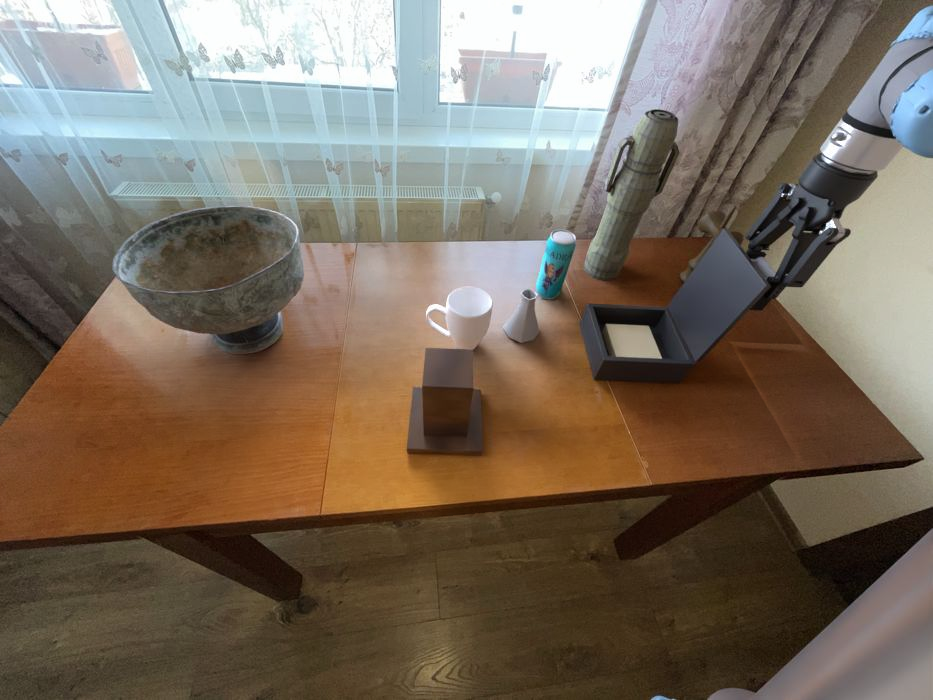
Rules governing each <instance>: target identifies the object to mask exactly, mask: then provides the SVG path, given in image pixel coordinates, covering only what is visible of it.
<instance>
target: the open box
mask: <svg viewBox="0 0 933 700" xmlns="http://www.w3.org/2000/svg"><path fill="white" fill-rule="evenodd" d="M578 324H579V325H578V326H579V328H580V332H581V336H582V340H583V345H584V347H585V352H586V356H587V359H588V363H589V367H590V371H591V375H592V378H593V381H606V382H607V381H609V382H610V381H612V382H632V383H633V382H634V383H659V384H681V383H682V382H683V381H684V379H685V378H686V377H687V376H688V375H689V374H690V372H691V371H692V370H693V368H694V367H695V366H696V364H697V362H695V361H694V358H693V356H692V354H691V352H690V350H689V348H688V346H687V344H686V342H685V340H684V338H683V336H682V334H681V331H680V329H679V327H678V325H677V323H676V321H675V319H674V317H673V315H672V313H671V311H670V309H669V307H668V306H651V305H650V306H648V305H632V304H631V305H630V304H629V305H627V304H609V303H589V302H588V303H586V306H585V309H584V311H583V313H582V315H581V319H580V320H579V323H578ZM605 324H622V325H643V326H649V328H650V330H651V333H652V335H653V337H654V340H655V342H656V345H657V347H658V350H659V352H660V354H661V357H662V359H659V358H636V357H613V356H609V353H608V350H607V347H606V343H605V340H604V337H603V333H602V331H603V328H604V326H605Z"/></svg>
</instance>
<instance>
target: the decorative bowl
mask: <svg viewBox="0 0 933 700" xmlns="http://www.w3.org/2000/svg"><path fill="white" fill-rule="evenodd" d="M111 267H112V268H111V269H112V271H113V273H114V277H115V278H116V279H117V280H118V281H119V282H121V284H122V285H123V286H124V288H125V289H126V290H127V291H128V293H129V294H130V296H131V297H132V298H133V299H134V300H135V301H136V302H137V303H138V304H139V305H141V306H142V307H143V308H144V309H145V310H147V313H149V314H150V316H152V317H153V318H155V319H157V320H158V321H160V322H162V323H164V324H166V325H168V326H170V327H173V328H174V329H178V330H181V331H187V332H192V333H196V334H204V335H205V334H206V335H211V336H212V339H213V341H214V343H215V345H216V347H218V348H219V349H220V350H222V351H223V352H226V353H230V354H233V355H246V354H253V353H257V352H260V351H264V350H265V349H267V348H268V347H270V346H272V345H274V344H275V343H276V342H277V341H278V340H279V339H280V338H281V336H283V333H284V321H283V315H282V313H281V311H283V309H284V308H285V307H286V306H288V304H289V303H290V302H291V300H292V299H294V298H295V297H296V296H297V294H298V293H299V291H300V290H301V288H302V285H303V282H304V278H305V269H304V260H303V257H302V249H301V241H300V231H299V228H298V226H297V224H296V223H295V221H293V220H292V219H291V218H290V217H288V216H287V215H285V214H282V213H280V212H277V211H274V210H271V209H267V208H263V207H256V206H251V205H217V206H209V207H208V206H207V207H202V208H201V207H200V208H193V209H189V210H186V211H181V212H177V213H174V214H171V215H168V216H166V217H163V218H160V219H157V220H155V221H153V222H151V223H149V224H147V225H146V226H144V227H141V228H140V230H138V231H136V232H134V234H133V235H131V236H129V237H128V238H127V239H126V240H125V241H124V242H123V243H122V244H121V245H120V247H119V248H118V250H117V251H116V253H115V254H114V256H113V259H112V266H111Z"/></svg>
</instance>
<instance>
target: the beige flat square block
mask: <svg viewBox="0 0 933 700" xmlns="http://www.w3.org/2000/svg"><path fill="white" fill-rule="evenodd" d="M602 333H603V337H604V340H605V343H606V347H607V350H608V353H609V356H613V357H636V358H659V359H662V357H661V354H660V352H659V350H658V347H657V345H656V342H655V340H654V337H653V335H652V333H651V330H650V328H649V326H643V325H622V324H605V326H604V328H603V331H602Z"/></svg>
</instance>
